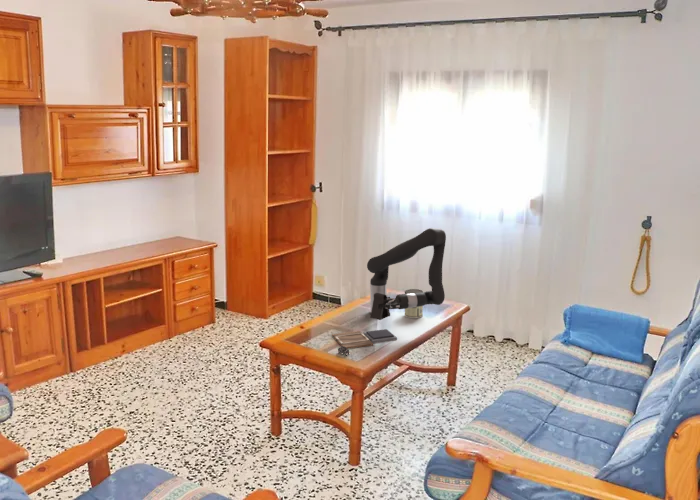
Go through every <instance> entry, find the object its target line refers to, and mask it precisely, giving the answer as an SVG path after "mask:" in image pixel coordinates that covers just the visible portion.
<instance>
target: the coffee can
mask: <svg viewBox="0 0 700 500" xmlns="http://www.w3.org/2000/svg"><path fill="white" fill-rule="evenodd" d="M423 292H424V291H423V289H422V290H421V289H416V288H410V289H406V290H404V294H408V293H423ZM423 307H424V306H419V307H413V308H407V309H404V316H405V317H406V318H409V319H420V318H422V317H423V315H424V314H423V313H424V312H423V311H424V308H423Z"/></svg>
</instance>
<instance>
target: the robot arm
mask: <svg viewBox="0 0 700 500" xmlns="http://www.w3.org/2000/svg"><path fill="white" fill-rule="evenodd" d="M446 236H447V234H446V232H445V230H444V229H442V228H439V227H437V228H436V227H430V228H426V229H425V230H424V231H422V232H421V233H419V234H418V235H416V236H414V237H411V238H410V239H408V240H405V241H403V242H401V243H399V244H397V245H395V246H394V247H393V248H390V249H389V250H387V251H385V252H383V253H382V254H379V255H377V256H373V257H371V258H369V259H368V262H367V264H366V268H367V270H368V271H369V272H370V273H372V274H373V276H372V277H371V278H370V280H369V281H370V283H369V284H370V291H369V292H370V300H369V301H370V303H369V304H370V314H371V311H372V306H373V301H374V294H375V293H380V294H385V295H386V296H387V303H384V304H378V309H381V308H386V309H387V308H388V309H389V310H405V309H407V308H413V307H419V306H423V307H424V306H425V305H426V306H427V305H436V306H441V305H442V304H443V303H444V301H445V289H444V285H443V261H444V254H445V250H446V249H445V247H446V243H447V242H446V240H447V237H446ZM427 247H433V255H432V258H431V262H430V264H429V267H428V284H429V286H430V287H431V290H429V291H423V293H408V294H405V293H401V294H396V295H395V298H393V297H390V296H388V295H387V294H388V293H387V289H388V288H387V286H388V284H387V283H388V279H389V266H392V265H396V264H399V263H402V262H405V261H407V260H409V259H411V258H413V257H414V256H416V255H417V253H418V252H419V251H420V250H422V249H425V248H427Z"/></svg>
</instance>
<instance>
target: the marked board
mask: <svg viewBox="0 0 700 500" xmlns="http://www.w3.org/2000/svg"><path fill="white" fill-rule="evenodd" d="M331 336H333V337H334V338H335V339H336V340H337V341H336V340H335V339H334V338H333V337H332V338H333V339H334V340H335V341H336V343H338V344H339V345H340V347H341V346H344V347H346V348H347V349H348V348H350V349H356V347H358V348H364V347H372V346H374V343H372V342H371V341H370V340H369V339H368V338H367V337H366V336H365V335H364V332H361V330H356V331H347V332H338V333H332V334H331ZM348 350H349V349H348Z"/></svg>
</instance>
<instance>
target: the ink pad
mask: <svg viewBox="0 0 700 500" xmlns="http://www.w3.org/2000/svg"><path fill="white" fill-rule="evenodd" d="M363 334H364V335H365V336H366V337H367V338H368V339H369V340H370V341H371V342H372V343H373V344H374V343H381V342H382V343H384V342H389V341H390V342H391V341H397V340H398V337H397V336H396V335H395V334H393V333H392V332H391V331H390V330H389V329H387V328H385V329H377V330H368V331H364V332H363Z"/></svg>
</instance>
